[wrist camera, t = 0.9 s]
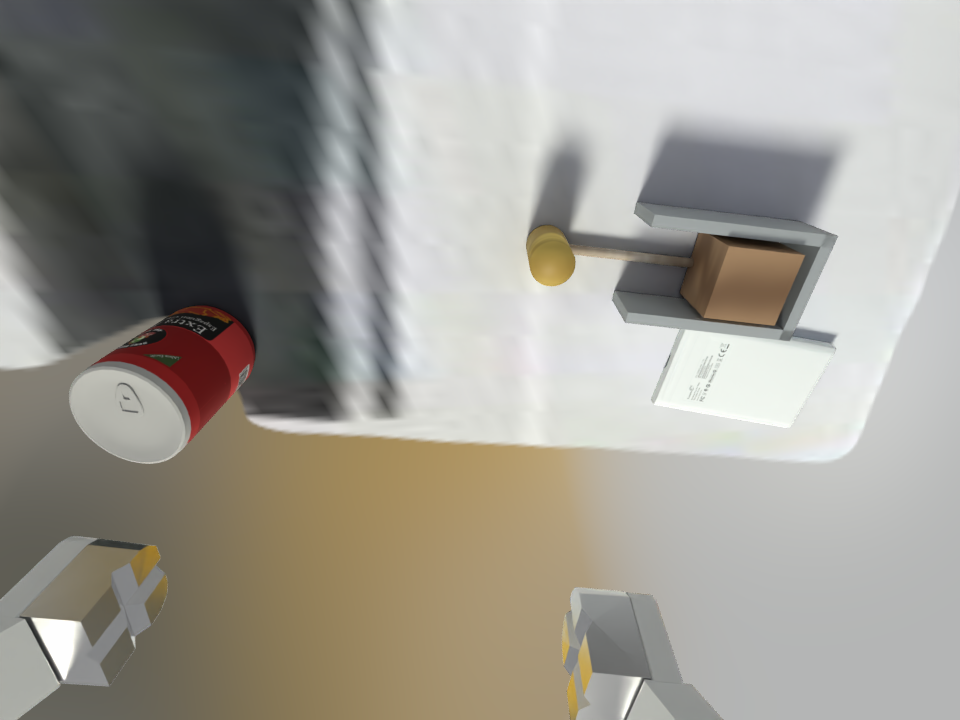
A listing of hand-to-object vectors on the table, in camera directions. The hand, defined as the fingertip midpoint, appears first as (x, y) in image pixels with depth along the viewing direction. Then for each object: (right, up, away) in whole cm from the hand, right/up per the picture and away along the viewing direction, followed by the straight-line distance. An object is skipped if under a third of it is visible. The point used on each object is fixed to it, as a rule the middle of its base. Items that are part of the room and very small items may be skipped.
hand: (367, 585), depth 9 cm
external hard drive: (+24, +4, +32) cm, 40 cm away
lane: (+19, +12, +27) cm, 35 cm away
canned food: (-21, +6, +32) cm, 39 cm away
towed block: (+14, +12, +27) cm, 33 cm away
